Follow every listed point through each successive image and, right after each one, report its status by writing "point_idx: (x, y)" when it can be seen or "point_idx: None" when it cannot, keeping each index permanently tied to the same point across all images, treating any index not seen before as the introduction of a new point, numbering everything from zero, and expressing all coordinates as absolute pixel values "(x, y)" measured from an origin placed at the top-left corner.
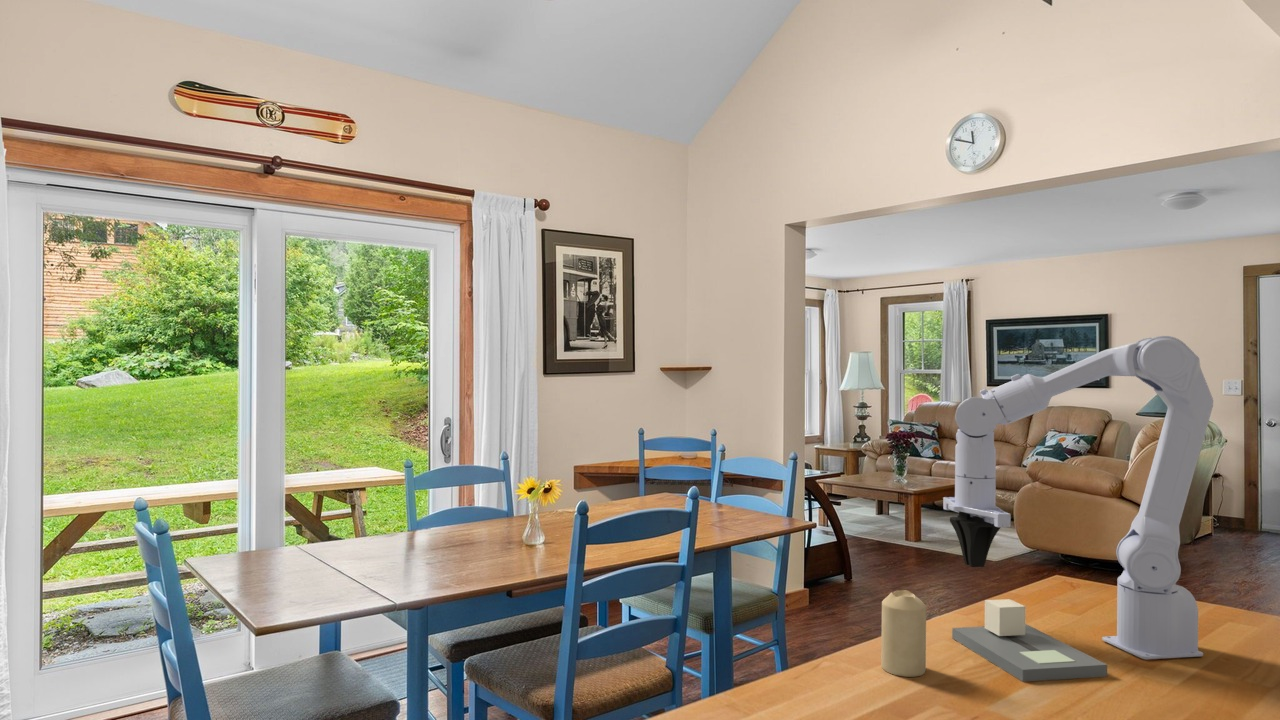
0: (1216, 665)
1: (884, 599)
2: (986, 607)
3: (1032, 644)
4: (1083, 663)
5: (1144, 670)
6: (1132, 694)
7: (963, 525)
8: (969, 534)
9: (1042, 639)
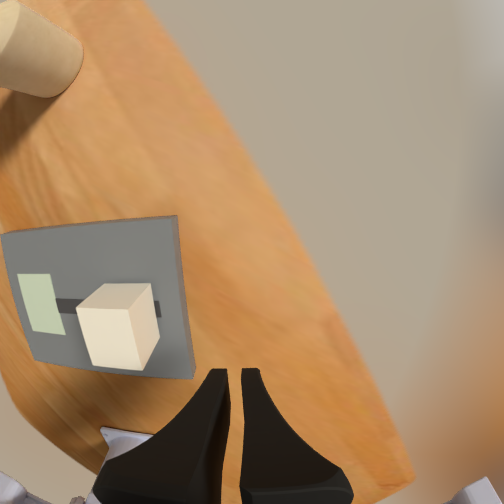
0: None
1: (4, 2)
2: (127, 302)
3: None
4: (30, 335)
5: (72, 403)
6: (7, 336)
7: (163, 475)
8: (147, 446)
9: None
